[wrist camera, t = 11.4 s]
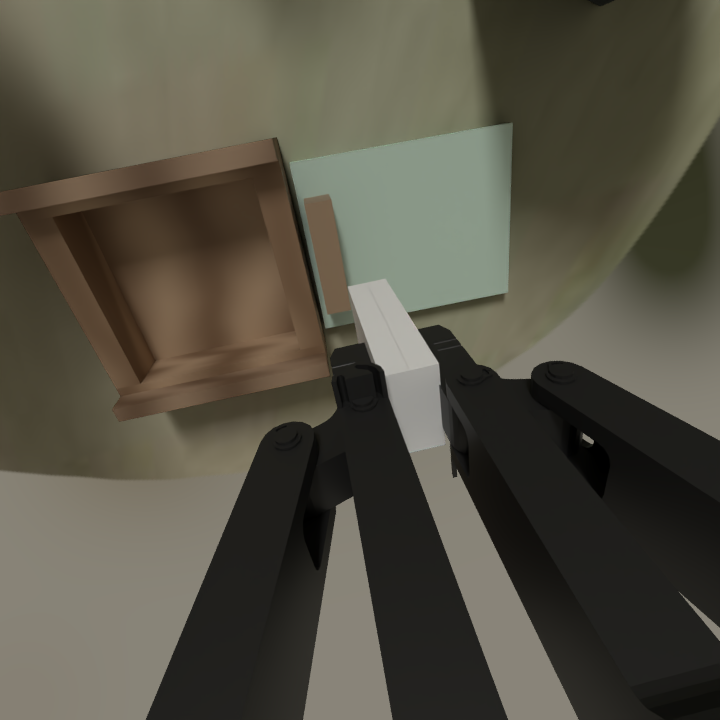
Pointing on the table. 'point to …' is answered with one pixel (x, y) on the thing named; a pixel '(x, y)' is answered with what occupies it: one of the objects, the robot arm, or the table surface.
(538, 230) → the table surface
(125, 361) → the box
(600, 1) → the tampon box
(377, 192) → the cover plate
